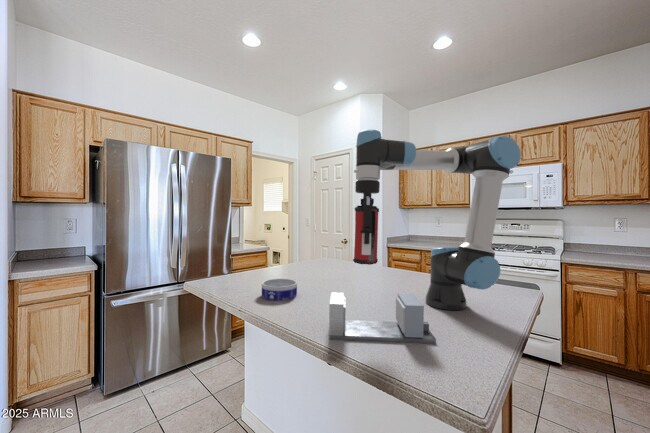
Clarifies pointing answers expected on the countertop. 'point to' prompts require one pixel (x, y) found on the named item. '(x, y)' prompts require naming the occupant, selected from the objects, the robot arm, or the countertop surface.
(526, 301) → the countertop surface
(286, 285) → the dog bowl
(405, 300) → the slide jaw
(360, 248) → the speaker
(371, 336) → the vise bed
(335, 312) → the fixed jaw
